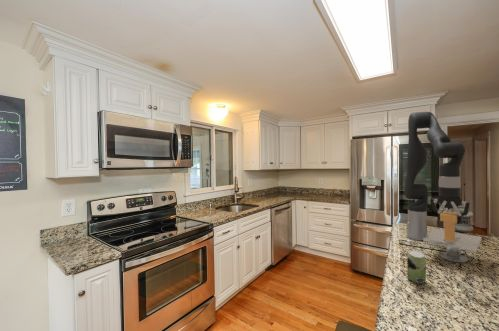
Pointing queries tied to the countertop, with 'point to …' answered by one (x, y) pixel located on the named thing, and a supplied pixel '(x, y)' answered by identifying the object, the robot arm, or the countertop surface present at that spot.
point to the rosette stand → (454, 244)
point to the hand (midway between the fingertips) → (449, 222)
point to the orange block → (449, 224)
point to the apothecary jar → (463, 221)
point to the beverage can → (416, 266)
